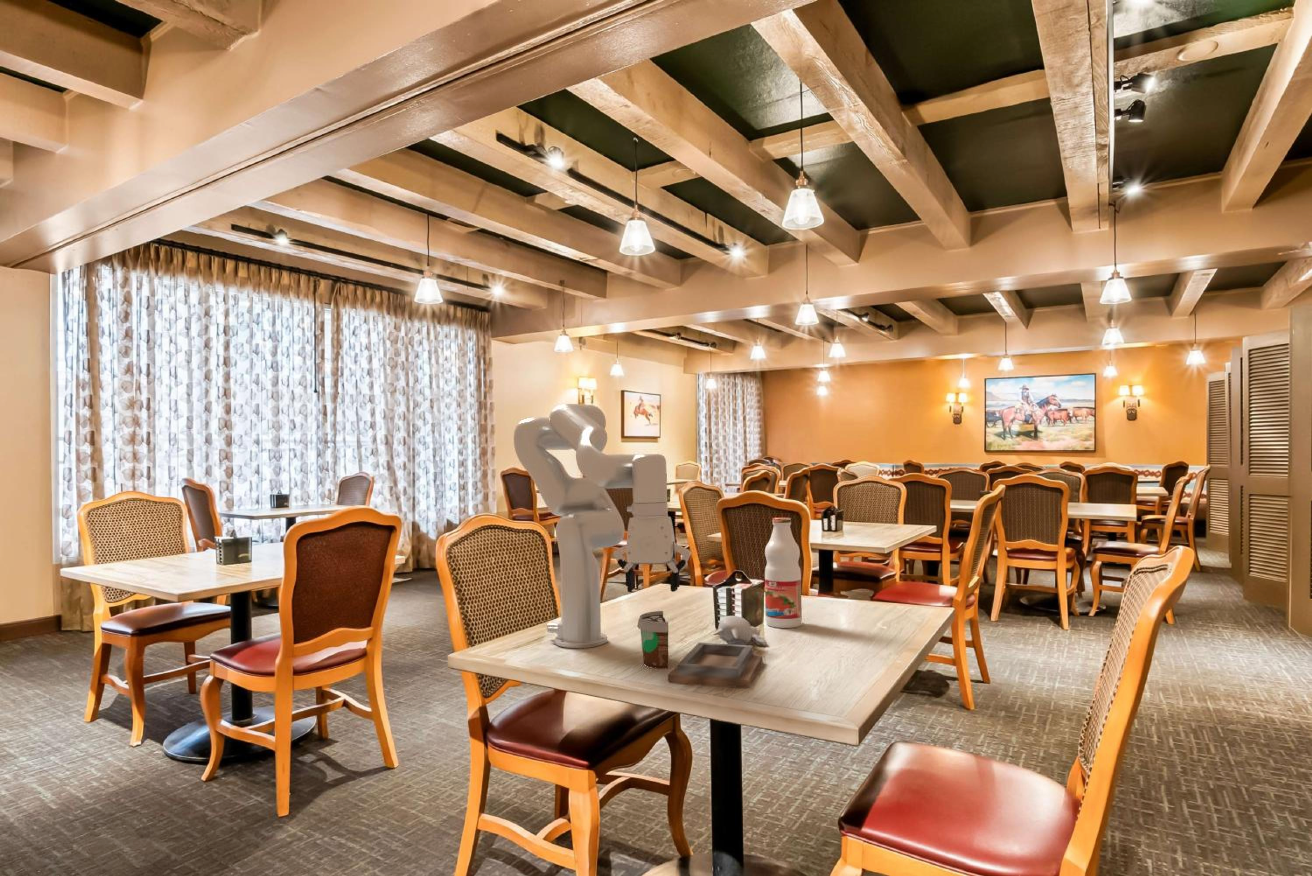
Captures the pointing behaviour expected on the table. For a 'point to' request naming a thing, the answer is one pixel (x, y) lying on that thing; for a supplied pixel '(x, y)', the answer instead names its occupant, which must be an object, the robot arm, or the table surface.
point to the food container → (654, 639)
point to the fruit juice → (782, 577)
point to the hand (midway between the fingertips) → (652, 590)
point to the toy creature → (738, 631)
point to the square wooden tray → (717, 666)
